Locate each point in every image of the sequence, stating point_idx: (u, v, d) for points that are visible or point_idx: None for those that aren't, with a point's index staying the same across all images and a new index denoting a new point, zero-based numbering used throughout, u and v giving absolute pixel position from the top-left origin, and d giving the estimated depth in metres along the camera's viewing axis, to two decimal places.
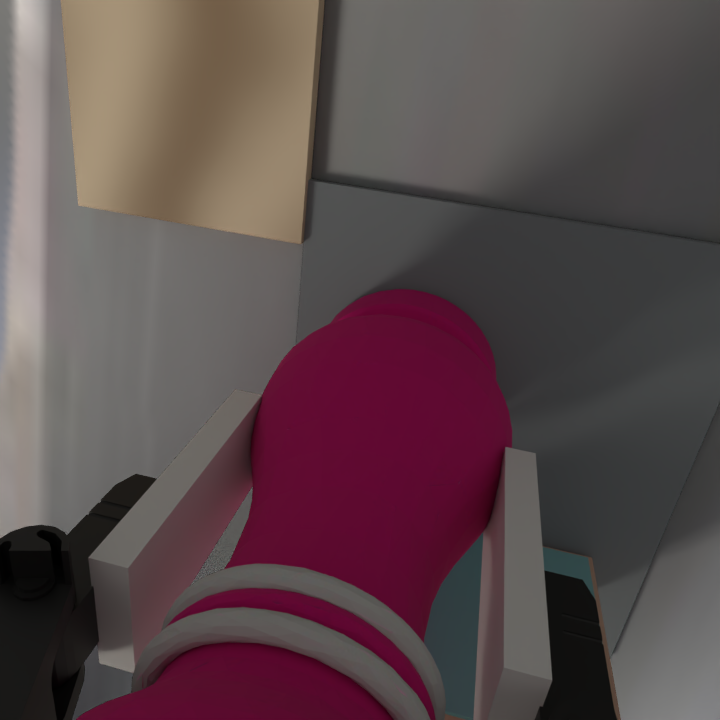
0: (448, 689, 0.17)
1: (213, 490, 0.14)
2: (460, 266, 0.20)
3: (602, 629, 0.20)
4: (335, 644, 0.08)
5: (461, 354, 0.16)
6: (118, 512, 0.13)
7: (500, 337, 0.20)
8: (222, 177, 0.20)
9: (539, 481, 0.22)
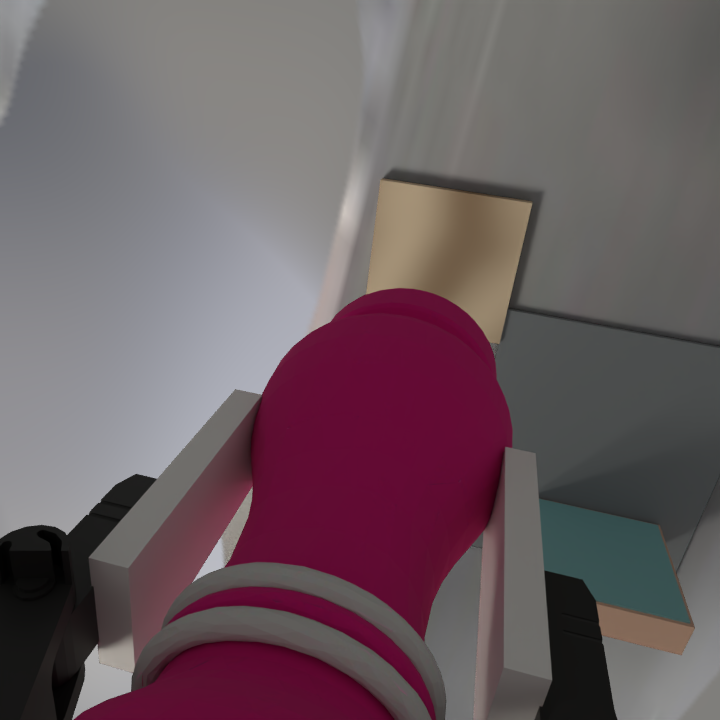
0: (595, 589, 0.32)
1: (213, 490, 0.14)
2: (592, 358, 0.35)
3: (671, 563, 0.35)
4: (335, 643, 0.08)
5: (461, 353, 0.16)
6: (118, 512, 0.13)
7: (612, 396, 0.35)
8: None
9: (630, 479, 0.37)
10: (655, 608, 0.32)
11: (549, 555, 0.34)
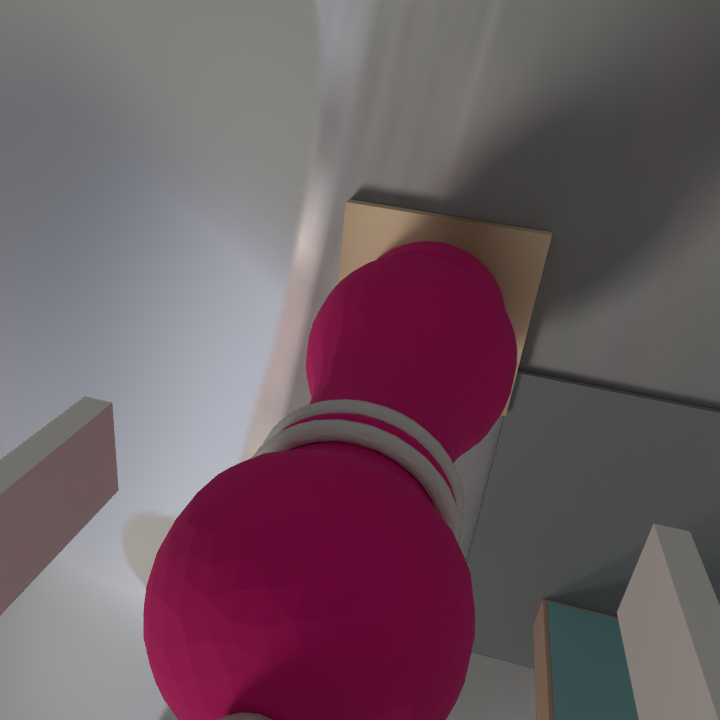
0: None
1: (32, 508, 0.13)
2: (629, 436, 0.26)
3: None
4: (390, 439, 0.12)
5: (477, 284, 0.20)
6: None
7: (655, 485, 0.27)
8: None
9: None
10: None
11: (570, 697, 0.26)
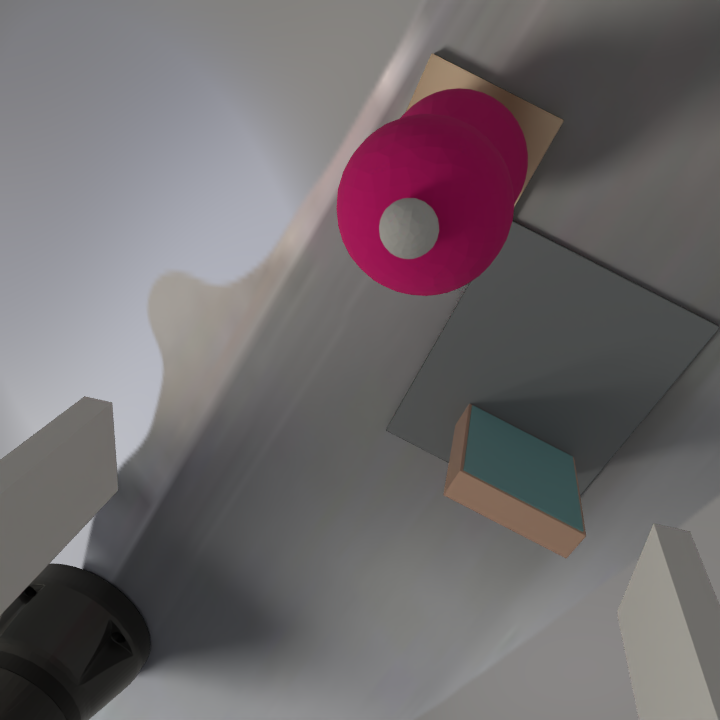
0: (511, 486, 0.35)
1: (32, 508, 0.13)
2: (567, 286, 0.37)
3: (577, 486, 0.39)
4: None
5: (516, 122, 0.30)
6: None
7: (573, 327, 0.38)
8: None
9: (562, 409, 0.41)
10: (557, 512, 0.35)
11: (478, 450, 0.37)
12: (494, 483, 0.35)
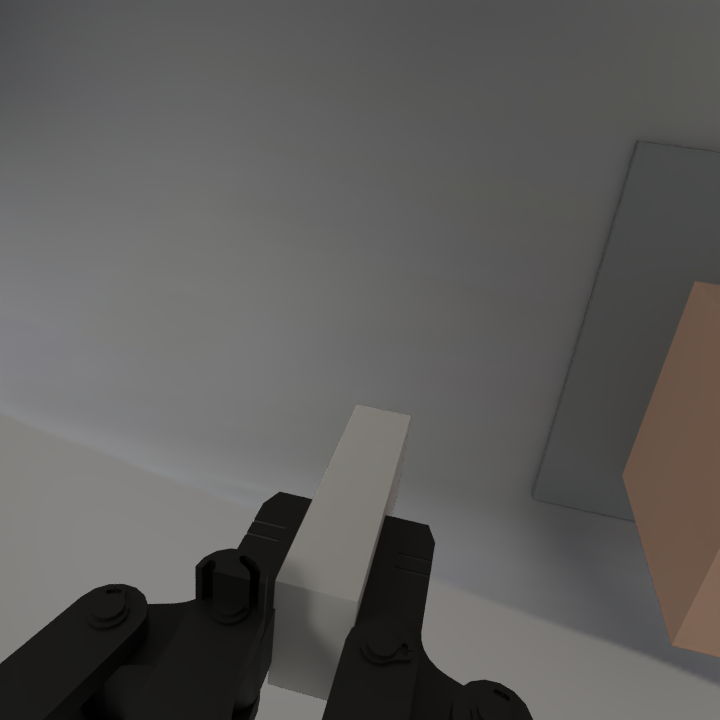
0: None
1: None
2: None
3: None
4: None
5: None
6: (275, 531, 0.13)
7: None
8: None
9: None
10: None
11: None
12: None
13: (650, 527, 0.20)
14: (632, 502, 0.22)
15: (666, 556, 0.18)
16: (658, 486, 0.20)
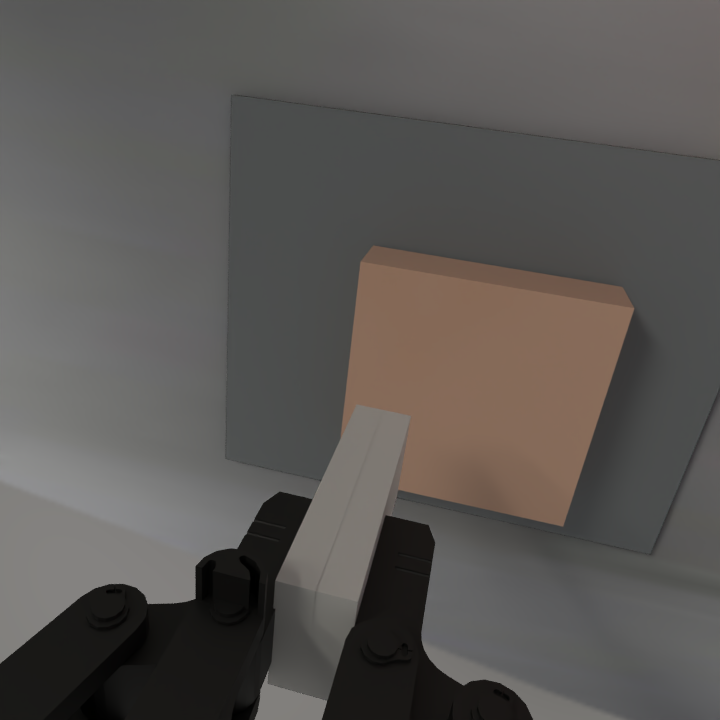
0: None
1: None
2: (674, 332, 0.20)
3: None
4: None
5: None
6: (275, 531, 0.13)
7: None
8: None
9: None
10: None
11: None
12: None
13: (449, 482, 0.21)
14: None
15: (503, 485, 0.21)
16: (439, 448, 0.21)
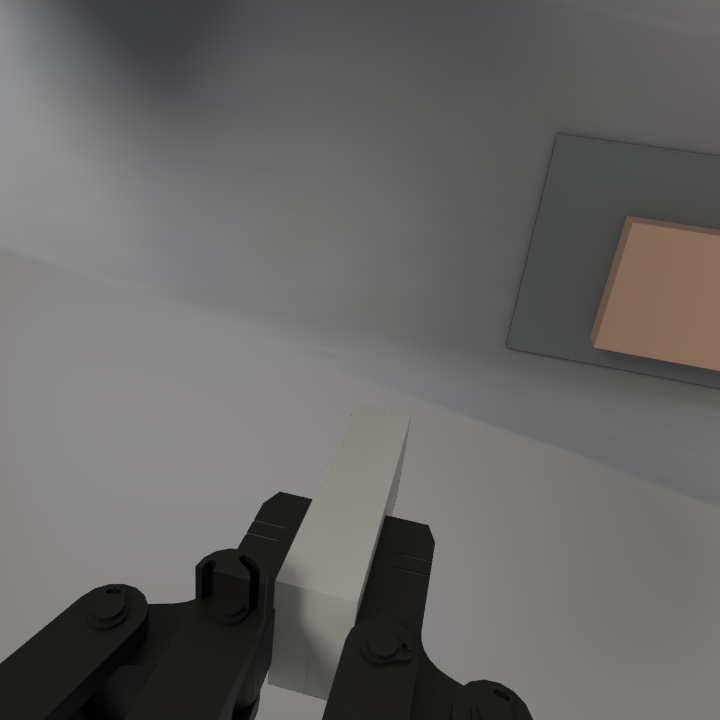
0: None
1: None
2: None
3: None
4: None
5: None
6: (275, 531, 0.13)
7: None
8: None
9: None
10: None
11: None
12: None
13: (663, 348, 0.38)
14: (625, 350, 0.39)
15: (695, 348, 0.38)
16: (660, 328, 0.38)
